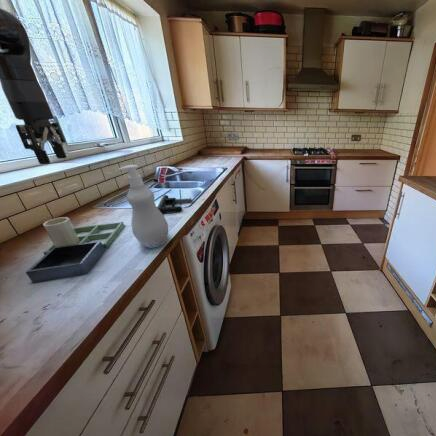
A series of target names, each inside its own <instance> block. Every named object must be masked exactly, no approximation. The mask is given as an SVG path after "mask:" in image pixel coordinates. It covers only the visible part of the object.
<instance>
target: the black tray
mask: <svg viewBox="0 0 436 436" xmlns="http://www.w3.org/2000/svg"><path fill="white" fill-rule="evenodd" d="M102 243H103V242H102V241H101V240H98V241H89V242H88V243H82V244H74V245H67V246H59V247H54V248H53V249H51V250H50V251H49V252H48V253H47V254H46V255H43V256H42V257H40V259H39V260H37V262H35V263H34V264H33V265H32V266H31V267H30V268H28V269H27V270H26V271H25V274H26V276H27V277H28V278H29V280H30V281H31V283H38V282H45V281H51V280H58V279H63V278H69V277H77V276H82V275H87V274H88V273H89V272H90V270H91V269H92V268H93V266H94V265H95V264H96V263H97V261H98V260H99V258H100V257H101V256H102V255H103V253H104V252H105V251H106V249H104V247H103V245H102Z"/></svg>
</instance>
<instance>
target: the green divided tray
mask: <svg viewBox="0 0 436 436" xmlns="http://www.w3.org/2000/svg"><path fill="white" fill-rule="evenodd" d="M124 227H125V223H124V221H118V222H110V223H103V224H102V223H101V224H93V225H85V226H77V227H75V226H74V227H73V228H74V230H75V232H76V233H82V232H89V233H87V234H84V235H77V236H78V238H79V240H80V243H79V244H82V243H89V242H91V241H94V240H101V239H106V240H105V241H104V242H102V245H103V247H104V249H105V250H106V249H107V250H108V248H109V247H110V246H111V244H112V243H113V242H114V241H115V239H116V238H117V237H118V235H119V234H120V232H121V231H122V230H123V229H124ZM106 229H107V230H108V229H114V230H113V231H108V232H100V230H106ZM98 232H100V233H98ZM54 247H55V246H54V244H53V243H52V244H51V245H50V246H49V247H47V249H45V250H44V251H42V253H43V256H45V255H46V254H47V253H48V252H49V251H50V250H51V249H53V248H54Z"/></svg>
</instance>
